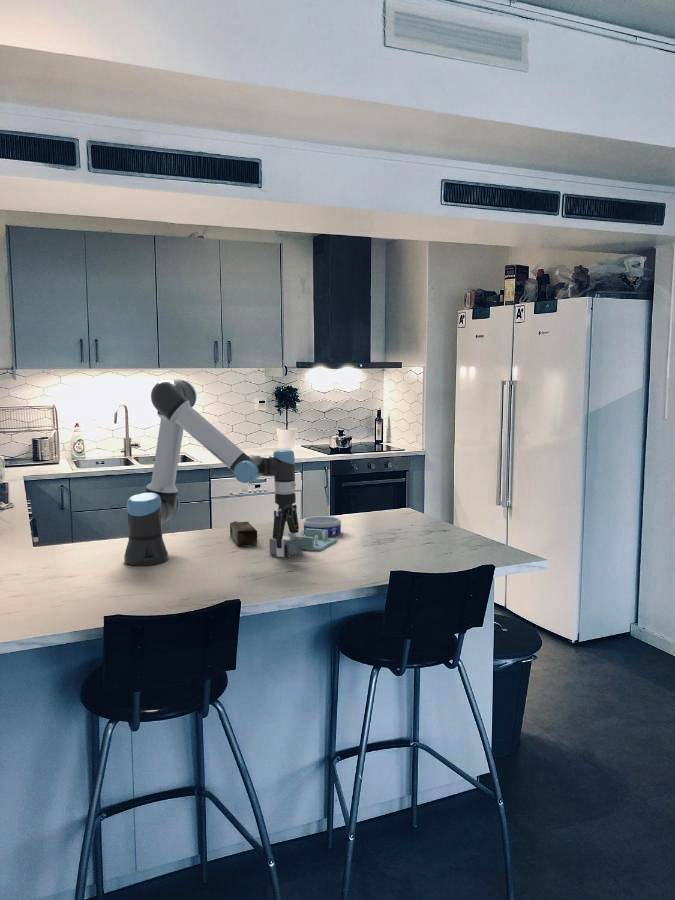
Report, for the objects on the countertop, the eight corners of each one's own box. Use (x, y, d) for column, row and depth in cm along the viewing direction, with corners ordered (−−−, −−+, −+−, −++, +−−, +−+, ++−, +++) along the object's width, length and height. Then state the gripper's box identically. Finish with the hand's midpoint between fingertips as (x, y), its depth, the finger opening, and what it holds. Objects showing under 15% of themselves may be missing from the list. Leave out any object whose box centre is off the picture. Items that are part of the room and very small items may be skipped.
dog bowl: (323, 528, 308) (323, 514, 307) (348, 533, 297) (348, 519, 296) (296, 534, 298) (295, 519, 297) (320, 540, 286) (320, 525, 286)
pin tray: (281, 547, 274) (281, 536, 274) (299, 538, 289) (299, 527, 288) (320, 551, 268) (320, 539, 268) (336, 541, 283) (336, 530, 282)
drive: (269, 555, 264) (269, 538, 263) (279, 551, 270) (278, 534, 269) (293, 558, 259) (293, 541, 259) (302, 553, 265) (302, 537, 264)
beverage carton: (249, 535, 297) (248, 519, 296) (258, 545, 279) (257, 529, 278) (229, 536, 295) (229, 520, 294) (237, 547, 276) (237, 530, 276)
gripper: (280, 498, 251) (282, 561, 253) (307, 488, 271) (308, 547, 273) (261, 496, 253) (263, 559, 256) (289, 487, 273) (290, 545, 276)
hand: (286, 553), depth 264 cm, fingers open, 9 cm apart
